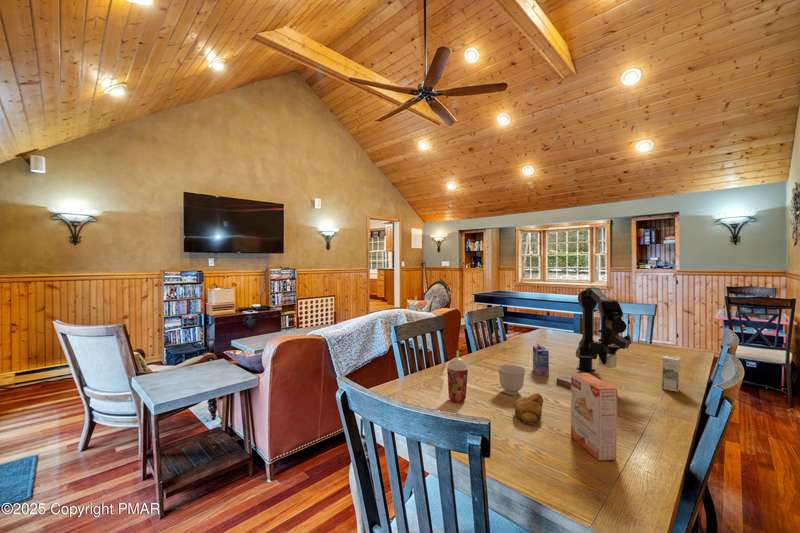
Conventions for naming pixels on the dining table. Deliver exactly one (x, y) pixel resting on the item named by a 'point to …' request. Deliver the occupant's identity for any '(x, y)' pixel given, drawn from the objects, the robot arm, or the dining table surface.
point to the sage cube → (609, 361)
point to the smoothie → (457, 379)
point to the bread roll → (529, 408)
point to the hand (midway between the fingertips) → (607, 363)
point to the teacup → (511, 378)
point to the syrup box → (671, 373)
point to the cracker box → (594, 415)
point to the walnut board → (565, 381)
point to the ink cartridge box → (541, 360)
